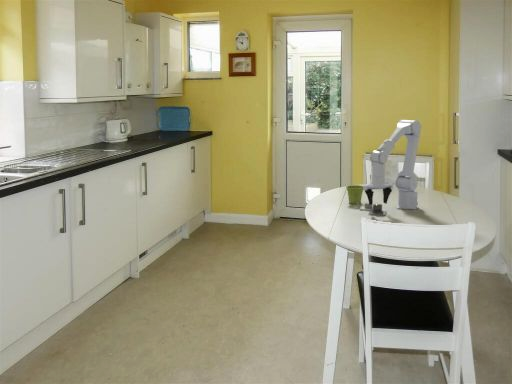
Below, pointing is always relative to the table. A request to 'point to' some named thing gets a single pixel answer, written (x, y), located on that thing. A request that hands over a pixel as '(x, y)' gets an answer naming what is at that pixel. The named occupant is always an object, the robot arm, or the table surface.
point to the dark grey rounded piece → (377, 208)
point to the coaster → (378, 213)
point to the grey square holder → (366, 206)
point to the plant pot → (355, 193)
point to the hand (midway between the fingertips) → (377, 203)
